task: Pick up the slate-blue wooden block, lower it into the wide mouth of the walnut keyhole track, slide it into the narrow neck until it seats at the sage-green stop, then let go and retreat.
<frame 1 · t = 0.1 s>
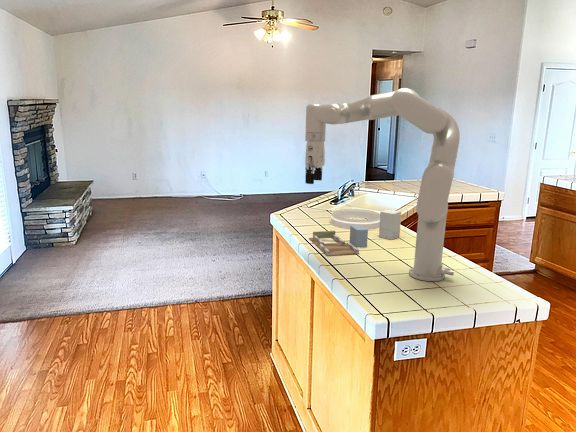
hand: (313, 181, 176), 31 cm above the countertop, tool pointing down, fingers open, 9 cm apart
supplement box: (389, 237, 216), on the countertop
keyhole track: (332, 246, 200), on the countertop
plate: (355, 224, 241), on the countertop
slider block: (358, 244, 203), on the countertop
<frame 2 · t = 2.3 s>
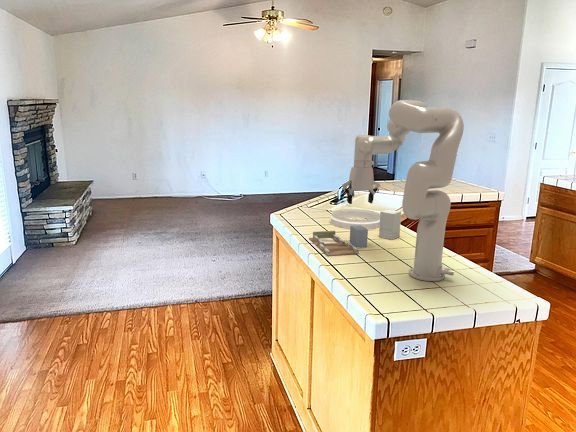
hand: (360, 203, 199), 19 cm above the countertop, tool pointing down, fingers open, 9 cm apart
nothing on the countertop moved.
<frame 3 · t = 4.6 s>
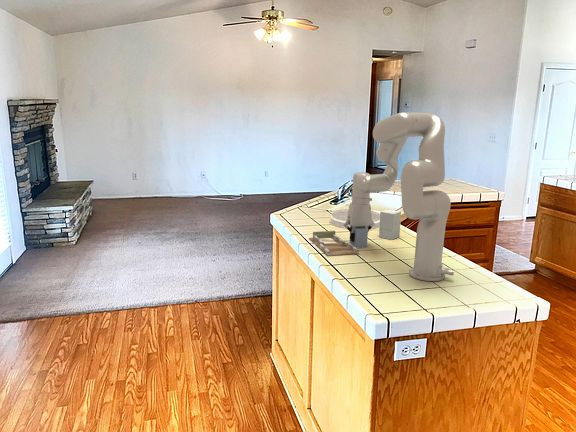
hand: (358, 240, 203), 2 cm above the countertop, tool pointing down, fingers closed on slider block, 5 cm apart
slider block: (358, 244, 203), on the countertop, touching gripper
everything else where it was.
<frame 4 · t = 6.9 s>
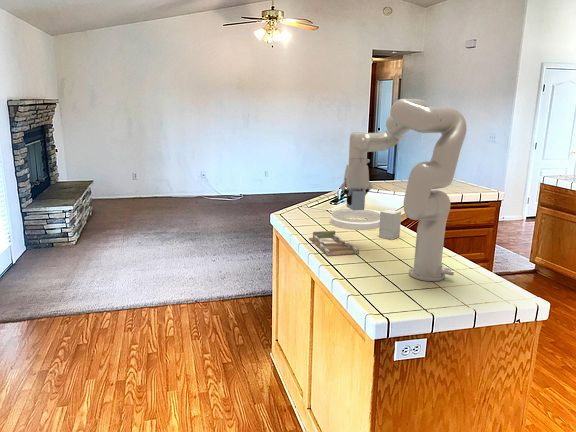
hand: (355, 203, 196), 19 cm above the countertop, tool pointing down, fingers closed on slider block, 5 cm apart
slider block: (355, 208, 197), point 17 cm above the countertop, touching gripper
everything else where it was.
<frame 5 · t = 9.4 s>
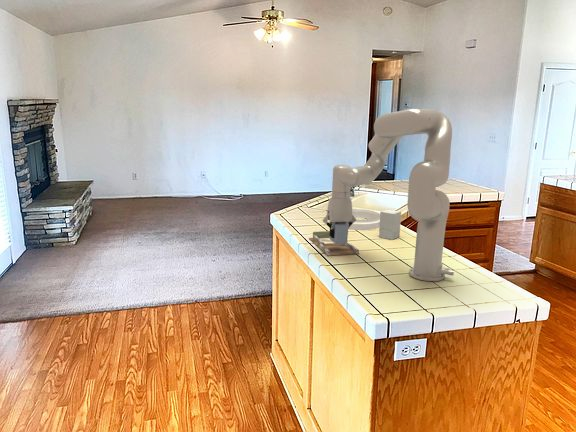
hand: (338, 236, 192), 6 cm above the countertop, tool pointing down, fingers closed on slider block, 5 cm apart
slider block: (338, 241, 193), point 4 cm above the countertop, touching gripper
everything else where it was.
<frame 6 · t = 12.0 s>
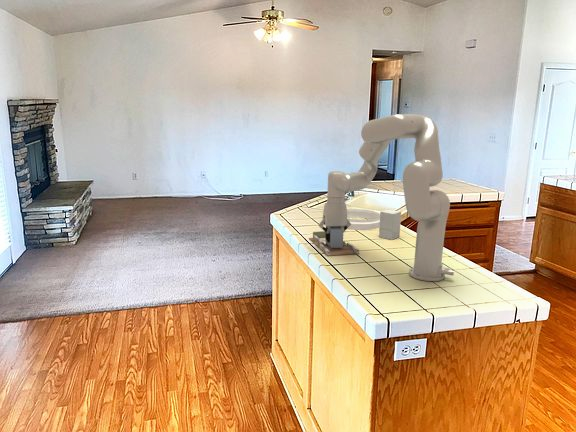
hand: (334, 240, 198), 3 cm above the countertop, tool pointing down, fingers closed on slider block, 5 cm apart
slider block: (333, 245, 199), point 1 cm above the countertop, touching gripper
everything else where it was.
when the fingers open (3 cm above the countertop, at t = 14.3 s): slider block stays where it is, resting on keyhole track.
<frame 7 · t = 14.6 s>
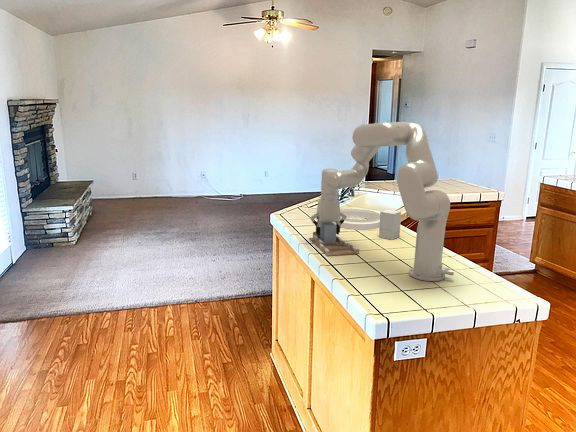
hand: (327, 234, 206), 3 cm above the countertop, tool pointing down, fingers open, 8 cm apart
slider block: (327, 240, 207), resting on keyhole track
everything else where it was.
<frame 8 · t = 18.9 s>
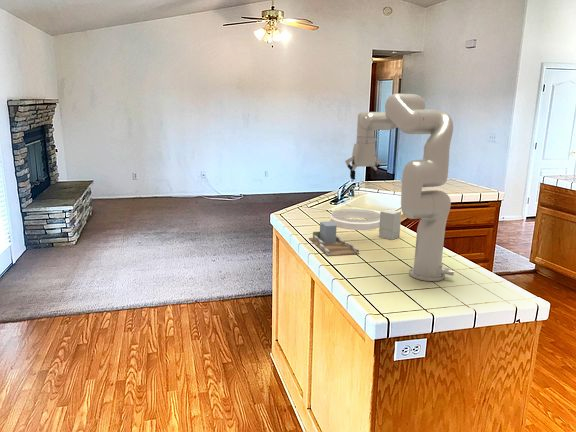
hand: (362, 179, 205), 28 cm above the countertop, tool pointing down, fingers open, 9 cm apart
nothing on the countertop moved.
at the end: slider block 0.1 cm from the target spot on the keyhole track, point 0.4 cm above the keyhole track's base; slider block tilted 0°; the gripper is holding nothing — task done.
